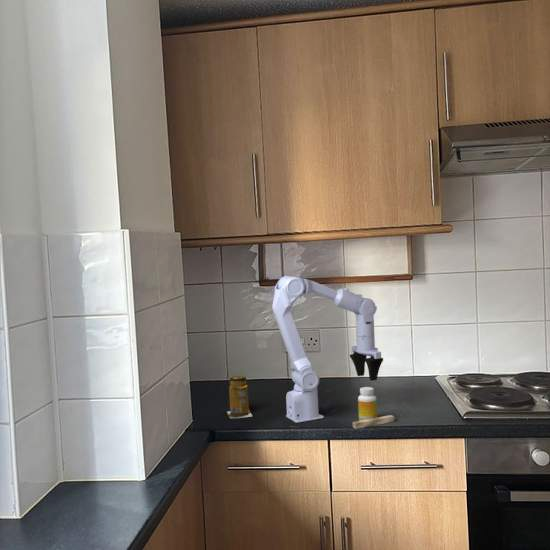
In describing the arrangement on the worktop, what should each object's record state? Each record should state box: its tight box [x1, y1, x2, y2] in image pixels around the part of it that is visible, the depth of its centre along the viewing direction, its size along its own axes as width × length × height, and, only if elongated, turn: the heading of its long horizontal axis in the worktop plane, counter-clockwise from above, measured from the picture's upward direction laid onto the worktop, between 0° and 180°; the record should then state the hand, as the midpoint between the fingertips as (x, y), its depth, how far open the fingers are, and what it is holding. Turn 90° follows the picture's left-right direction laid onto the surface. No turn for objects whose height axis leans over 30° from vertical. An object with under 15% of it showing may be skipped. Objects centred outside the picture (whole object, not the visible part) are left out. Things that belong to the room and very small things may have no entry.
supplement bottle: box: [357, 386, 378, 421], centre depth 170 cm, size 5×5×10 cm
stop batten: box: [352, 414, 395, 430], centre depth 166 cm, size 13×2×2 cm, turn 112°
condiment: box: [226, 375, 253, 419], centre depth 184 cm, size 7×8×12 cm
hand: (366, 377), depth 182 cm, fingers open, 7 cm apart
